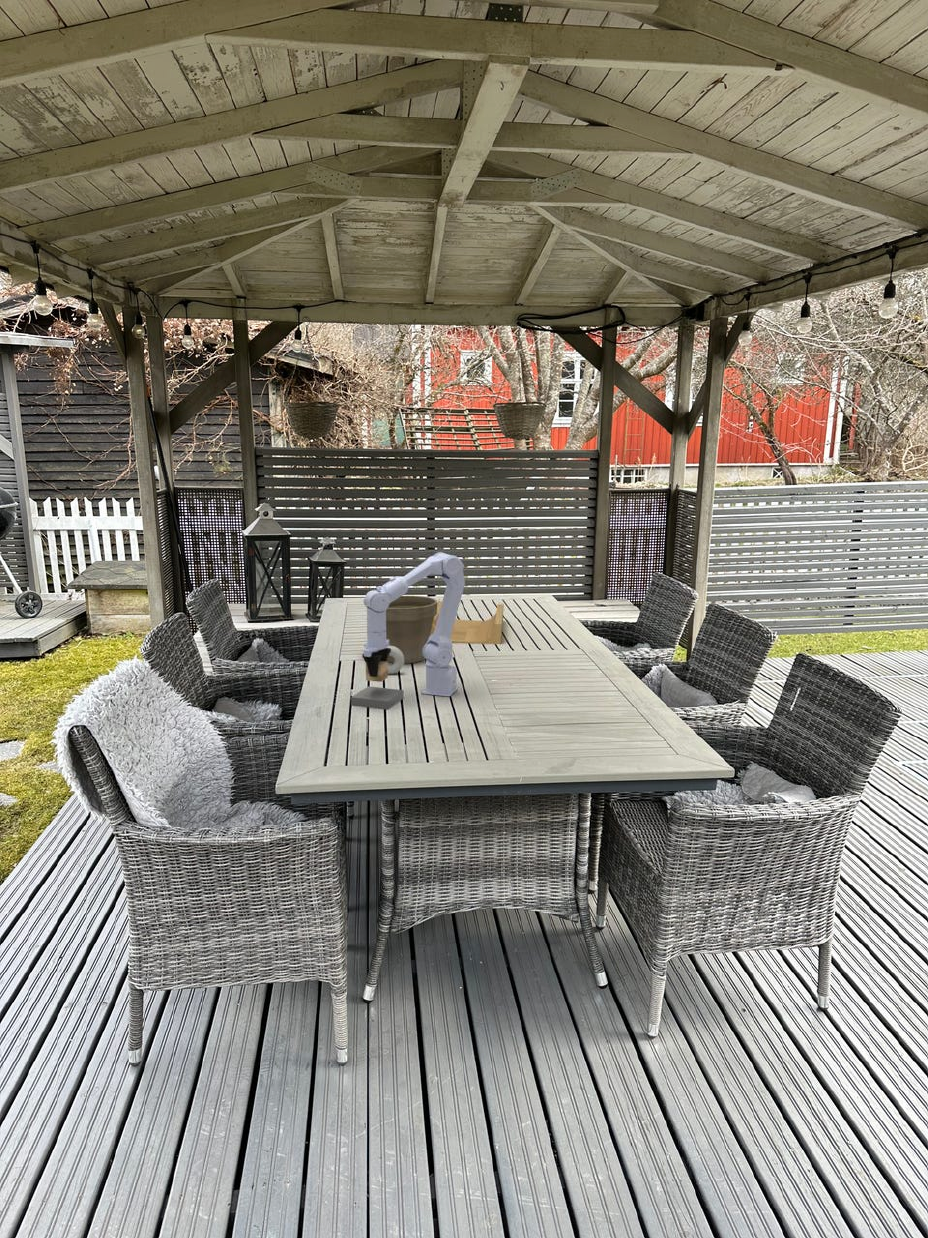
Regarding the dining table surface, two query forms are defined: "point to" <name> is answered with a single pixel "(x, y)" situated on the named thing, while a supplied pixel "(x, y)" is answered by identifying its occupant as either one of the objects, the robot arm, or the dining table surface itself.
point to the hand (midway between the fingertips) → (377, 674)
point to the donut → (398, 660)
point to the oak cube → (379, 672)
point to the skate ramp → (475, 628)
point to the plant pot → (410, 625)
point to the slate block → (377, 697)
